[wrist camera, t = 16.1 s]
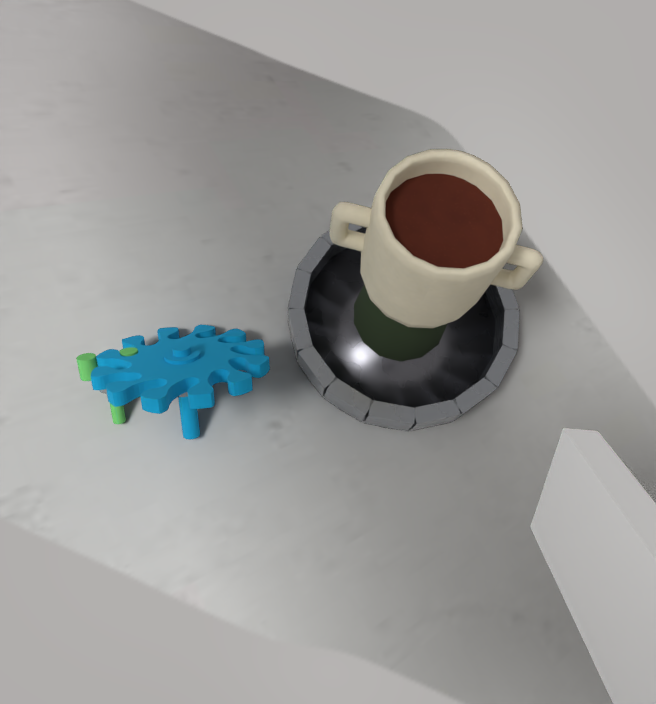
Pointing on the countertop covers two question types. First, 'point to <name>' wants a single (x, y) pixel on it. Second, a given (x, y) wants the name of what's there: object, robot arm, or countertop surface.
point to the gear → (175, 371)
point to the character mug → (431, 248)
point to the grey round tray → (386, 374)
